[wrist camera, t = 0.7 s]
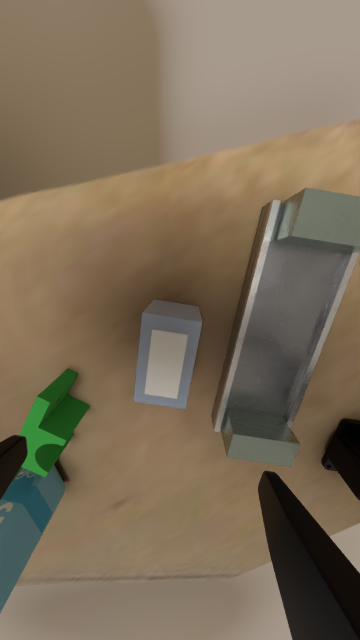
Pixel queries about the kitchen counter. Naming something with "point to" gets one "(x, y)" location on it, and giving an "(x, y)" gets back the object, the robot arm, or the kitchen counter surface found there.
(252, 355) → the rail
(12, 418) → the kitchen counter surface
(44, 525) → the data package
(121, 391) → the kitchen counter surface
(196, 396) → the kitchen counter surface
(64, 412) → the pipe clamp
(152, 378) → the block
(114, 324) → the kitchen counter surface
